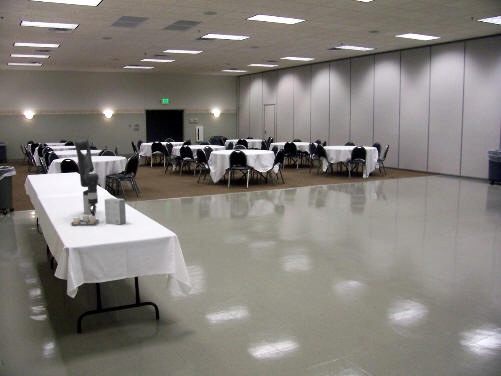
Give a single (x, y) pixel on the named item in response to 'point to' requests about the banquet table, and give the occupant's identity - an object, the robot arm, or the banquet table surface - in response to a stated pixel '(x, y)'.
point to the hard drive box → (115, 211)
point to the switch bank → (85, 223)
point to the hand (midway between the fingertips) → (93, 218)
